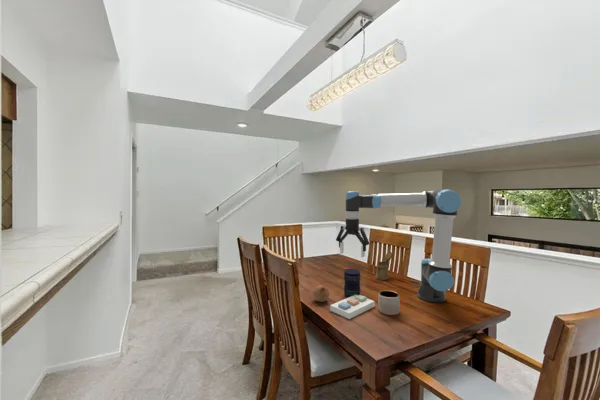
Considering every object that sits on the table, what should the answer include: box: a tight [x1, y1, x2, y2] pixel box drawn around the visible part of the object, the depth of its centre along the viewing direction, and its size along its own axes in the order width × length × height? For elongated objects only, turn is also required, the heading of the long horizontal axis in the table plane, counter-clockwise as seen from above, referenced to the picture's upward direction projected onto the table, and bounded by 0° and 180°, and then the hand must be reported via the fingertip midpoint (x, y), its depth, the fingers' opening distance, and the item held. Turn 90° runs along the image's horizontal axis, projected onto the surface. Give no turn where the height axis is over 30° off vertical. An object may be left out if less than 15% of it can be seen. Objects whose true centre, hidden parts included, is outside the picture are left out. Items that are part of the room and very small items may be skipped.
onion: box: [312, 285, 330, 303], centre depth 165 cm, size 10×9×10 cm
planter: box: [377, 289, 401, 316], centre depth 150 cm, size 11×11×10 cm
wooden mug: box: [375, 251, 393, 281], centre depth 204 cm, size 9×14×18 cm, turn 118°
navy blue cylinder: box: [343, 268, 361, 298], centre depth 173 cm, size 10×10×15 cm
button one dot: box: [338, 302, 351, 310], centre depth 150 cm, size 5×5×3 cm
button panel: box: [329, 295, 376, 320], centre depth 154 cm, size 13×22×3 cm, turn 131°
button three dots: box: [347, 298, 359, 306], centre depth 154 cm, size 5×5×3 cm
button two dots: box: [355, 294, 368, 302], centre depth 159 cm, size 5×5×3 cm
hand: (352, 255), depth 162 cm, fingers open, 13 cm apart
